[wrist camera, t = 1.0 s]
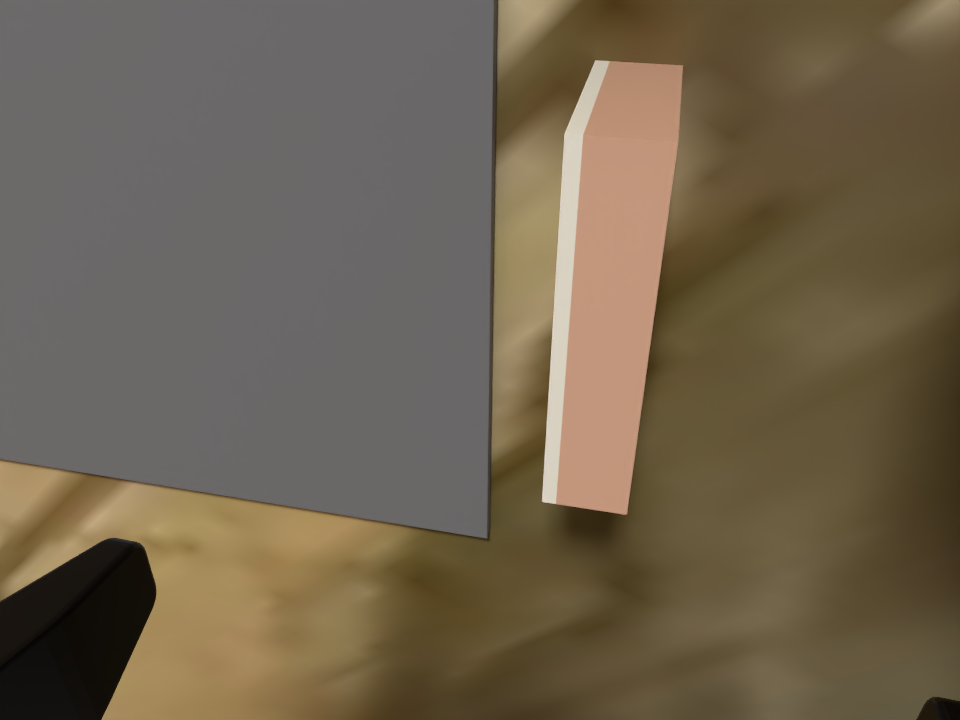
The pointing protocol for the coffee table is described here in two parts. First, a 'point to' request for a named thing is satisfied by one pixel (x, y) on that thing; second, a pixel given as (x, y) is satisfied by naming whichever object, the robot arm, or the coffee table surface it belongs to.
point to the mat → (253, 249)
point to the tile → (608, 278)
